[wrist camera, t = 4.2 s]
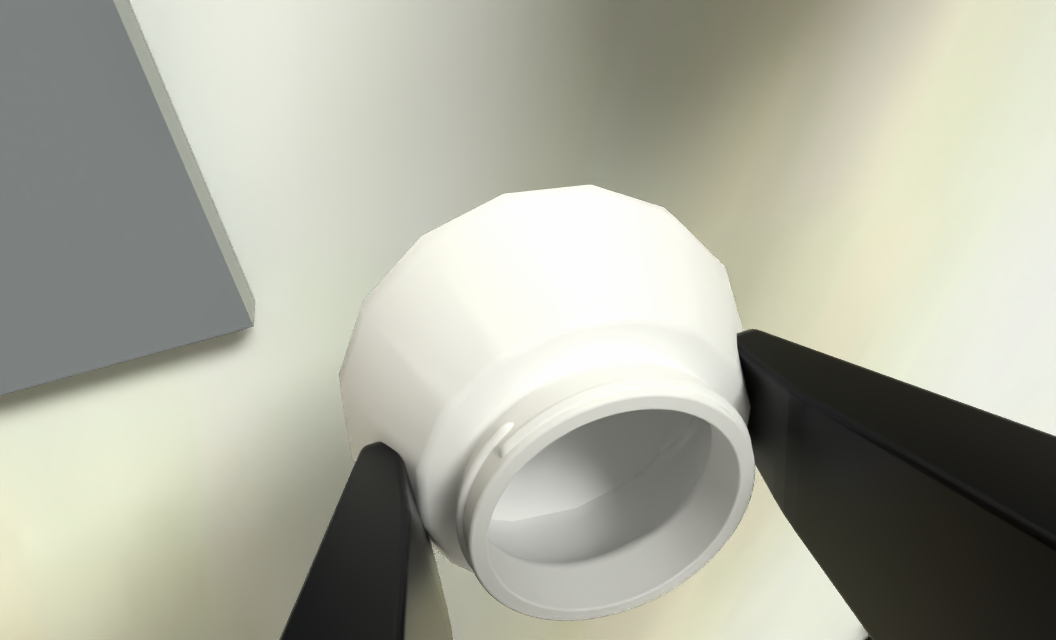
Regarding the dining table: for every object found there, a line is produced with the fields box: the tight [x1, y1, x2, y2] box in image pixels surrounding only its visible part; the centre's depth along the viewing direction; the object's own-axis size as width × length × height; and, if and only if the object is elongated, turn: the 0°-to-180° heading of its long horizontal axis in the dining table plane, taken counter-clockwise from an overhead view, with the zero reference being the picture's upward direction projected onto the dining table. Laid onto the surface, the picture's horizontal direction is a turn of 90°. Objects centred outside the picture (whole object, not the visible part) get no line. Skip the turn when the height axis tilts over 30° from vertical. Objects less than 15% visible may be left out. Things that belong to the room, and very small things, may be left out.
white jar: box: [339, 184, 755, 621], centre depth 9 cm, size 5×3×5 cm
